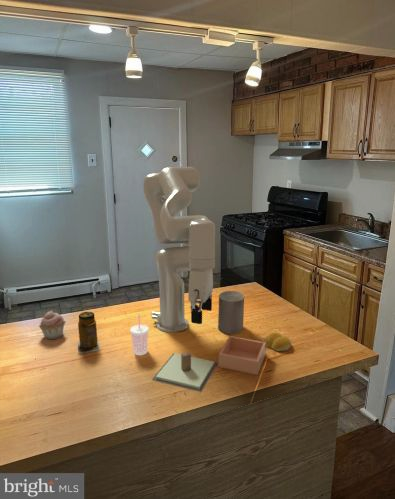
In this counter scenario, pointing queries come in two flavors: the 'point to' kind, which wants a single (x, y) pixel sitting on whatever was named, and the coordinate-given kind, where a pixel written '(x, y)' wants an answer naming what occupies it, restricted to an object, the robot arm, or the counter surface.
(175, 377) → the lid
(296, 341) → the counter surface
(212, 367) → the mat
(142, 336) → the beverage cup
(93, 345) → the condiment
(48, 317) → the cupcake
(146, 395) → the counter surface
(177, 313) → the robot arm
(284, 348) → the bread roll
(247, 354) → the open box
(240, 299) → the pillar candle
